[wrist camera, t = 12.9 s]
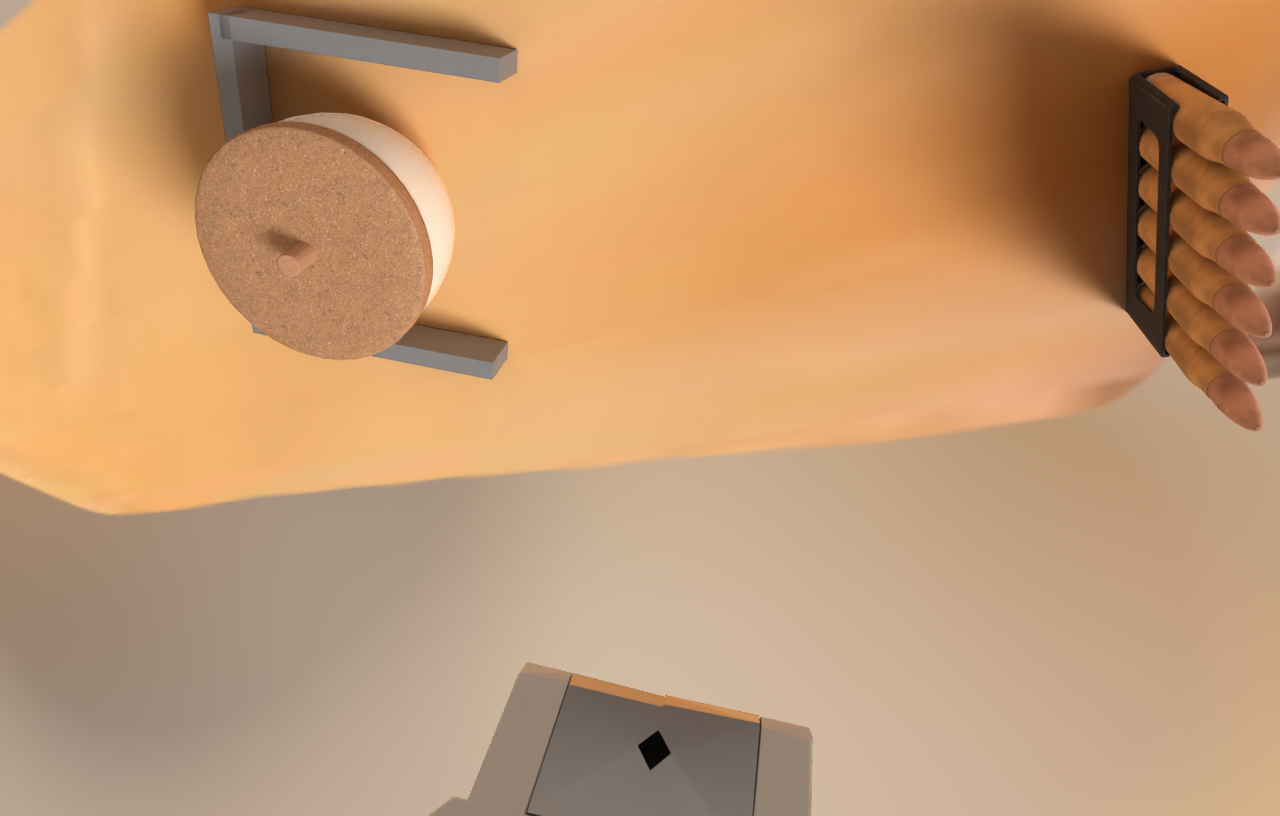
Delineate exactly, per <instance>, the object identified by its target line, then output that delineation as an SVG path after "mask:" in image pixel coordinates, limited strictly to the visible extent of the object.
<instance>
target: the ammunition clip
mask: <svg viewBox="0 0 1280 816" xmlns="http://www.w3.org/2000/svg"><path fill="white" fill-rule="evenodd" d="M1248 176H1249V177H1252V178H1255V179H1260V180H1278V179H1280V149H1279V148H1278V147H1277V146H1276V145H1275V144H1274V143H1272V142H1271V141H1270V140H1269V139H1268V138H1266V137H1265V136H1263V135H1262V134H1261V133H1260V132H1259V131H1257V130H1256V129H1255V128H1254V127H1253V125H1252V123H1251V122H1250V121H1249V120H1248V119H1247V118H1246V117H1245V116H1243V115H1242V114H1240V113H1239V112H1237V111H1235V110H1233V109H1231V108H1230V107H1228V96H1227V95H1226V94H1224V93H1223V92H1221V91H1220V90H1218V89H1216V88H1215V87H1213V86H1212V85H1210V84H1209V83H1207V82H1205V81H1204V80H1202V79H1201V78H1199V77H1198V76H1196V75H1194V74H1193V73H1191V72H1190V71H1188V70H1187V69H1185V68H1183V67H1182V66H1180V65H1176V66H1172V67H1167V68H1162V69H1157V70H1152V71H1147V72H1143V73H1138V74H1133V75H1132V76H1131V78H1130V79H1129V134H1128V207H1127V281H1126V311H1127V313H1128V314H1129V315H1130V317H1131V318H1132V319H1133V321H1134V322H1135V323H1136V325H1137V326H1138V327H1139V328H1140V330H1141V331H1142V332H1143V334H1144V335H1145V336H1146V338H1147V339H1148V340H1149V341H1150V343H1151V344H1152V345H1153V347H1154V348H1155V349H1156V350H1157V352H1158V353H1159V354H1160V356H1161V357H1169V356H1170V355H1171V357H1172V358H1173V359H1174V361H1175V362H1176V363H1177V365H1178V366H1179V368H1180V369H1181V370H1182V372H1183V373H1184V374H1185V376H1186V377H1187V378H1188V379H1189V381H1191V382H1192V383H1193V384H1194V385H1195V386H1197V387H1198V388H1200V389H1201V390H1202V391H1203V392H1204V393H1205V394H1206V395H1207V396H1208V397H1209V398H1210V399H1211V400H1212V401H1213V402H1214V404H1215V405H1216V406H1217V407H1218V408H1219V409H1220V410H1221V411H1222V412H1223V413H1224V414H1225V415H1226V416H1227V417H1228V418H1230V419H1231V420H1232V421H1234V422H1235V423H1237V424H1238V425H1240V426H1242V427H1243V428H1246V429H1249V430H1251V431H1260V430H1261V428H1262V424H1263V418H1262V414H1261V410H1260V407H1259V404H1258V402H1257V400H1256V398H1255V396H1254V394H1253V393H1252V391H1251V389H1250V388H1249V387H1248V385H1247V384H1246V383H1245V382H1247V383H1250V384H1253V385H1257V386H1263V385H1265V384H1266V382H1267V370H1266V366H1265V363H1264V361H1263V358H1262V356H1261V354H1260V353H1259V351H1258V349H1257V348H1256V346H1255V345H1254V343H1253V342H1252V341H1251V340H1250V339H1249V338H1248V336H1247V334H1249V335H1252V336H1255V337H1261V338H1266V337H1269V336H1270V335H1271V333H1272V323H1271V319H1270V316H1269V314H1268V311H1267V309H1266V307H1265V306H1264V304H1263V303H1262V301H1261V300H1260V298H1259V297H1258V296H1257V295H1256V294H1255V293H1254V292H1253V291H1252V289H1251V287H1250V286H1249V285H1248V284H1250V285H1253V286H1256V287H1260V288H1271V287H1274V286H1275V285H1276V282H1277V273H1276V270H1275V267H1274V265H1273V262H1272V260H1271V259H1270V257H1269V256H1268V254H1267V253H1266V252H1265V251H1264V249H1263V248H1262V247H1260V246H1259V245H1258V244H1257V243H1256V241H1255V240H1254V239H1253V238H1252V237H1251V236H1250V235H1249V234H1248V233H1247V231H1249V232H1252V233H1255V234H1259V235H1264V236H1271V235H1277V234H1279V233H1280V214H1279V212H1278V210H1277V208H1276V206H1275V205H1274V204H1273V203H1272V201H1271V200H1270V199H1269V198H1268V197H1267V196H1266V195H1265V194H1263V193H1262V192H1261V191H1260V190H1259V189H1258V188H1257V187H1256V186H1255V185H1254V184H1253V183H1251V181H1250V179H1249V177H1248ZM1246 333H1247V334H1246ZM1167 351H1168V352H1167Z"/></svg>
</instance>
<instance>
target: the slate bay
mask: <svg viewBox="0 0 1280 816" xmlns="http://www.w3.org/2000/svg"><path fill="white" fill-rule="evenodd" d="M208 18H209V25H210V32H211V39H212V46H213V53H214V60H215V67H216V74H217V81H218V88H219V95H220V102H221V109H222V116H223V123H224V130H225V137H226V142H227V141H228V140H230V139H232V138H233V137H235V136H236V135H238V134H240V133H242V132H244V131H247V130H250V129H252V128H255V127H258V126H261V125H264V124H269V123H273V119H272V110H271V101H270V92H269V83H268V74H267V66H266V57H265V48H264V45H266V46H272V47H278V48H284V49H291V50H297V51H303V52H309V53H316V54H322V55H328V56H334V57H341V58H347V59H353V60H359V61H366V62H372V63H378V64H384V65H391V66H397V67H403V68H409V69H416V70H422V71H428V72H434V73H440V74H447V75H453V76H459V77H465V78H472V79H478V80H484V81H490V82H497V83H499V82H501V81H503V80H505V79H506V78H508V77H510V76H512V75H513V74H515V73H517V49H511V48H505V47H498V46H492V45H485V44H479V43H473V42H466V41H460V40H453V39H447V38H440V37H434V36H428V35H421V34H415V33H408V32H402V31H395V30H389V29H383V28H376V27H370V26H363V25H357V24H350V23H344V22H338V21H331V20H325V19H318V18H312V17H305V16H299V15H293V14H286V13H280V12H273V11H267V10H261V9H254V8H248V7H241V6H240V7H234V8H229V9H224V10H219V11H214V12H209V13H208ZM252 327H253V333H258V334H263V335H266V334H265V333H263V332H261V331H260V330H258V329H257V328H256V327H255V326H254V325H253V324H252ZM507 347H508V342H505V341H500V340H495V339H490V338H484V337H479V336H474V335H469V334H464V333H458V332H453V331H448V330H443V329H437V328H432V327H427V326H422V325H417V324H414V325H413V326H412V327H411V328H410V329H409V330H408V332H407V333H406V334H405V335H404V336H403V337H402V338H401V339H400V340H399V341H397V342H396V343H394V344H393V345H392V346H390V347H389V348H387V349H386V350H383V351H381V352H379V353H377V354H374V355H372V356H374V357H380V358H385V359H390V360H395V361H400V362H405V363H410V364H415V365H420V366H425V367H430V368H435V369H440V370H445V371H451V372H456V373H461V374H466V375H471V376H476V377H481V378H486V379H491V380H492V379H493V378H494V376H495V375H496V373H497V372H498V370H499V369H500V368H501V366H502V365H503V363H504V362H505V360H506V359H507Z"/></svg>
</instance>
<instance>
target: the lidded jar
mask: <svg viewBox="0 0 1280 816" xmlns="http://www.w3.org/2000/svg"><path fill="white" fill-rule="evenodd" d="M195 220H196V229H197V237H198V240H199V243H200V247H201V250H202V253H203V256H204V258H205V261H206V263H207V266H208V268H209V270H210V272H211V274H212V276H213V277H214V279H215V281H216V282H217V284H218V286H219V287H220V289H221V290H222V292H223V293H224V294H225V296H226V297H227V299H228V300H229V301H230V303H231V304H232V305H233V306H234V307H235V308H236V309H237V310H238V311H239V312H240V313H241V314H242V315H243V316H244V317H245V318H246V319H247V320H248V321H249V322H250V323H252V324H253V325H254V326H255V327H256V328H257V329H258V330H260V331H261V332H263V333H265V334H266V335H268V336H269V337H271V338H272V339H274V340H275V341H277V342H279V343H281V344H283V345H285V346H287V347H289V348H291V349H293V350H296V351H299V352H302V353H305V354H307V355H311V356H316V357H320V358H324V359H336V360H349V359H359V358H363V357H368V356H372V355H374V354H377V353H379V352H381V351H383V350H386V349H387V348H389V347H390V346H392V345H393V344H394V343H396V342H397V341H399V340H400V339H401V338H402V337H403V336H404V335H405V334H406V333H407V332H408V330H409V329H410V328H411V327H412V326H413V325H414V324H415V322H416V321H417V319H418V318H419V316H420V315H421V313H422V312H423V311H424V310H425V308H426V307H427V306H428V305H429V304H430V302H431V301H432V299H433V298H434V296H435V294H436V293H437V291H438V290H439V288H440V286H441V284H442V283H443V281H444V278H445V276H446V273H447V271H448V268H449V265H450V262H451V260H452V255H453V250H454V241H455V222H454V214H453V208H452V205H451V201H450V197H449V194H448V192H447V190H446V187H445V185H444V183H443V180H442V179H441V177H440V175H439V174H438V172H437V170H436V169H435V167H434V166H433V164H432V163H431V162H430V161H429V159H428V158H427V157H426V156H425V154H424V153H423V152H422V151H421V150H420V149H419V148H418V147H417V146H416V145H415V144H414V143H413V142H411V141H410V140H409V139H407V138H406V137H404V136H403V135H402V134H400V133H399V132H397V131H395V130H394V129H392V128H390V127H388V126H386V125H384V124H382V123H379V122H376V121H374V120H371V119H368V118H366V117H363V116H358V115H353V114H348V113H324V112H320V113H313V114H307V115H300V116H294V117H290V118H287V119H284V120H281V121H278V122H275V123H269V124H264V125H261V126H258V127H255V128H252V129H250V130H247V131H244V132H242V133H240V134H238V135H236V136H235V137H233V138H232V139H230V140H228V141H227V142H225V143H224V144H223V145H222V146H221V147H220V148H219V149H218V150H217V151H216V152H215V153H214V154H213V156H212V157H211V159H210V160H209V162H208V163H207V165H206V166H205V168H204V171H203V173H202V176H201V178H200V181H199V184H198V189H197V194H196V199H195Z"/></svg>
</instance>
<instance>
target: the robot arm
mask: <svg viewBox="0 0 1280 816" xmlns="http://www.w3.org/2000/svg"><path fill="white" fill-rule="evenodd" d="M812 744H813V738H812V735H811V732H810V729H809V728H807V727H802V726H798V725H794V724H790V723H786V722H781V721H777V720H773V719H768V718H764V717H761V718H759V716H758V715H755V714H750V713H746V712H741V711H736V710H731V709H727V708H723V707H718V706H713V705H709V704H704V703H700V702H695V701H690V700H685V699H681V698H676V697H672V696H667V695H666V696H665V697H664V696H660V695H656V694H652V693H648V692H644V691H640V690H637V689H633V688H629V687H625V686H621V685H617V684H613V683H609V682H606V681H601V680H598V679H594V678H590V677H586V676H582V675H579V674H575V673H574V674H573V673H570V672H566V671H561V670H557V669H553V668H549V667H545V666H541V665H537V664H533V663H529V662H527V663H526V664H525V666H524V667H523V669H522V670H521V672H520V673H519V674H518V677H517V679H516V681H515V684H514V686H513V689H512V691H511V694H510V696H509V699H508V701H507V704H506V706H505V709H504V711H503V714H502V716H501V719H500V721H499V724H498V726H497V729H496V731H495V734H494V736H493V739H492V741H491V744H490V746H489V749H488V751H487V754H486V756H485V759H484V761H483V764H482V766H481V769H480V771H479V774H478V776H477V779H476V781H475V784H474V786H473V789H472V791H471V793H470V796H469V798H468V800H466V799H462V798H457V797H453V798H451V799H450V800H449V801H447V802H446V803H445V804H443V805H442V806H441V807H439V808H438V809H437V810H436V811H434V812H433V813H431V814H430V815H429V816H811V798H812V797H811V796H812Z"/></svg>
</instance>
